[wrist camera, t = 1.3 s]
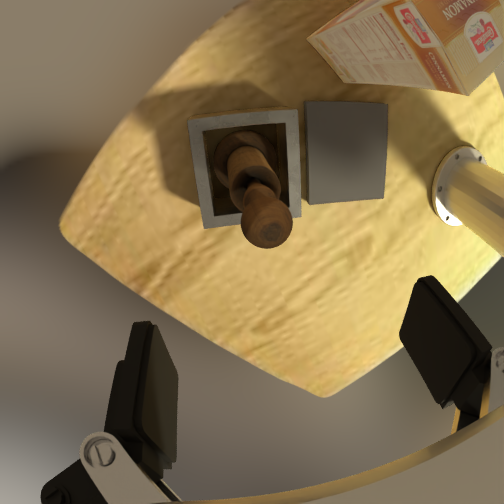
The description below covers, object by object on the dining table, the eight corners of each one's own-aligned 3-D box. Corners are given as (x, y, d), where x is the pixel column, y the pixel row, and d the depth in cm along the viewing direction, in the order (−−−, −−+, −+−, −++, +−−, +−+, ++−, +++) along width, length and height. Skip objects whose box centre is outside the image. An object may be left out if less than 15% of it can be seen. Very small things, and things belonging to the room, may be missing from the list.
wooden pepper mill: (243, 117, 29) (273, 149, 14) (285, 157, 32) (349, 228, 17) (201, 161, 31) (185, 239, 16) (244, 197, 34) (268, 299, 19)
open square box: (285, 106, 29) (297, 109, 25) (290, 199, 35) (301, 216, 30) (191, 115, 29) (186, 120, 24) (205, 209, 34) (204, 228, 30)
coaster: (383, 103, 29) (387, 104, 28) (380, 195, 36) (383, 198, 35) (303, 101, 29) (306, 101, 28) (307, 201, 35) (309, 204, 34)
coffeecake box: (387, -17, 21) (502, -53, 4) (421, 27, 24) (545, 24, 7) (302, 38, 25) (404, -9, 8) (344, 85, 28) (470, 101, 11)
